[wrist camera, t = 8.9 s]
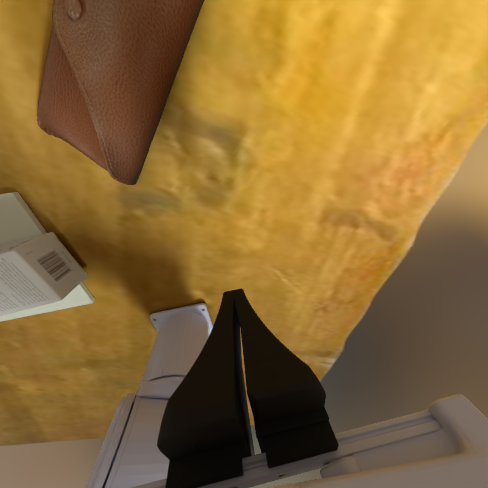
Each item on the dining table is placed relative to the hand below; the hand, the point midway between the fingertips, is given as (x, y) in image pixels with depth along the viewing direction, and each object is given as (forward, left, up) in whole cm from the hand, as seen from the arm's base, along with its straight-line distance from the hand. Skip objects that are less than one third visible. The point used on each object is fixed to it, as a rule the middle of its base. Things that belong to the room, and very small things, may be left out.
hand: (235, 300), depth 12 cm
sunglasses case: (+17, +5, -11) cm, 21 cm away
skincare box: (+2, +17, -8) cm, 19 cm away
